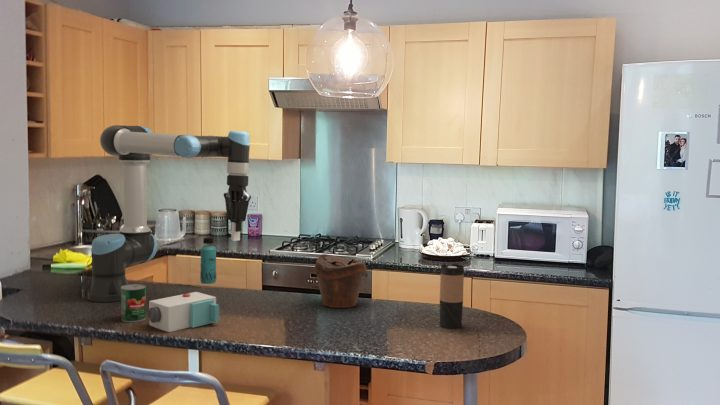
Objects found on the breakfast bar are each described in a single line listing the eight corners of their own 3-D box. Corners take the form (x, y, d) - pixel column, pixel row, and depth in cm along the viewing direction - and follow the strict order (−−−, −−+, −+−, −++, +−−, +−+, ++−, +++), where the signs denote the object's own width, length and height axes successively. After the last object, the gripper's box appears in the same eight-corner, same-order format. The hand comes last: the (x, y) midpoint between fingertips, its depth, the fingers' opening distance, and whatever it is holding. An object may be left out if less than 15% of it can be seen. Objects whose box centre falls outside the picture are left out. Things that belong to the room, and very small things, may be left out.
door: (190, 326, 206) (190, 303, 205) (210, 321, 212) (210, 299, 211) (198, 329, 203) (198, 306, 203) (219, 324, 209) (219, 301, 209)
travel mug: (456, 330, 208) (458, 269, 206) (435, 326, 212) (436, 266, 210) (465, 324, 215) (467, 265, 213) (444, 321, 219) (446, 262, 217)
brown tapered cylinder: (369, 309, 231) (369, 260, 230) (313, 310, 230) (313, 260, 228) (365, 298, 249) (366, 252, 247) (313, 299, 247) (313, 252, 246)
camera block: (145, 326, 207) (144, 300, 206) (196, 314, 222) (196, 290, 221) (164, 333, 199) (164, 306, 199) (216, 320, 214) (216, 295, 213)
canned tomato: (135, 323, 210) (134, 290, 209) (116, 320, 213) (115, 287, 212) (151, 317, 217) (150, 285, 216) (132, 314, 220) (131, 283, 219)
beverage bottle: (197, 286, 263) (196, 238, 261) (206, 283, 269) (206, 236, 268) (210, 288, 261) (210, 239, 259) (219, 285, 267) (219, 237, 265)
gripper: (257, 175, 228) (255, 241, 230) (235, 174, 237) (232, 237, 238) (240, 175, 223) (238, 243, 224) (218, 173, 231) (215, 239, 233)
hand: (235, 240), depth 231 cm, fingers closed
